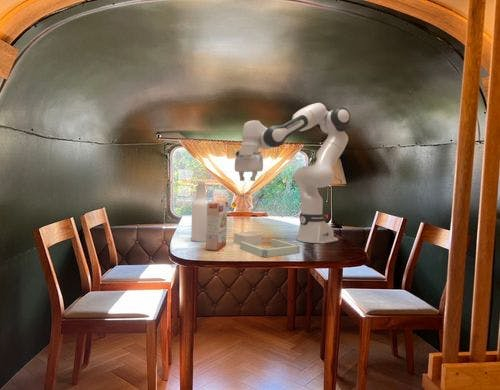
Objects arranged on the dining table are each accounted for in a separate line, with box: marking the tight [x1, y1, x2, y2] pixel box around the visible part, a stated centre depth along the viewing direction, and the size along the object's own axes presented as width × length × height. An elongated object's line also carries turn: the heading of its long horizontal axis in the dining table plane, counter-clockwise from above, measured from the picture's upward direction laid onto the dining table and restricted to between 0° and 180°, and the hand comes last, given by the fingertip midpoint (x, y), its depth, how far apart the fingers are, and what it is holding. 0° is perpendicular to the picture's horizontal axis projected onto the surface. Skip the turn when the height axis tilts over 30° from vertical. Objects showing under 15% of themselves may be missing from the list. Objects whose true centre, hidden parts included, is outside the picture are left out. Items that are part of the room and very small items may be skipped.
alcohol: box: [190, 180, 210, 243], centre depth 170 cm, size 9×9×30 cm
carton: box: [233, 231, 263, 246], centre depth 167 cm, size 10×10×5 cm
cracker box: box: [205, 200, 229, 252], centre depth 155 cm, size 14×6×21 cm, turn 168°
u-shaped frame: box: [239, 238, 301, 259], centre depth 152 cm, size 19×19×3 cm
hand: (247, 180), depth 168 cm, fingers open, 8 cm apart
